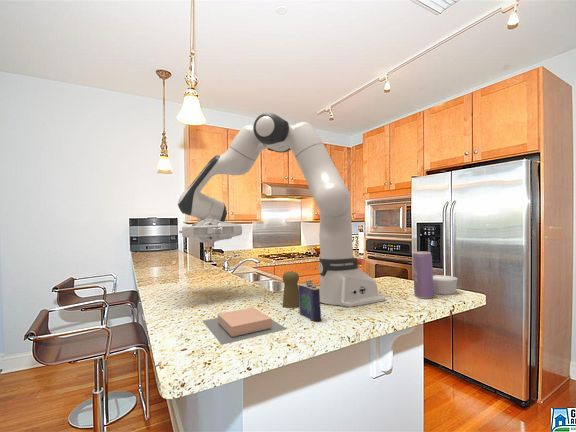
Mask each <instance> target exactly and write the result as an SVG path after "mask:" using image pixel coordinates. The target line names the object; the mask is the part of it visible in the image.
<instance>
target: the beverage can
mask: <svg viewBox="0 0 576 432" xmlns="http://www.w3.org/2000/svg"><path fill="white" fill-rule="evenodd" d="M432 257H433V256H432V253H431V252H430V251H413V252H412V256H411V258H412V276H413V293H414V296H415V298H417V299H424V300H431V299H433V298H434V296H435V294H434V285H433V275H434V274H433V273H434V272H433V269H434V268H433V258H432Z"/></svg>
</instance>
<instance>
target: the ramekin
mask: <svg viewBox="0 0 576 432" xmlns="http://www.w3.org/2000/svg"><path fill="white" fill-rule="evenodd" d="M458 280H459V279H458V277H455V276H452V275H440V274H439V275H437V274H435V275H434V274H433V285H434V295H443V296H447V295H448V296H449V295H451V296H452V295H454V294H455V293H456V292H457V284H458V282H459V281H458Z"/></svg>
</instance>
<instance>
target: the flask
mask: <svg viewBox="0 0 576 432" xmlns="http://www.w3.org/2000/svg"><path fill="white" fill-rule="evenodd" d="M312 281H314V279H312V278H311V279H307V280H305V283H299V284H298V289H299V307H298V309H299V310H298V311H299V315H300V316H302V317H305V318H306V319H307V318H308V319H309V320H310V321H312V322H313V323H320V322H322V313H321V302H320V294H319V292H320V291H319V288H320V287H318V286H316V285H314V282H312Z"/></svg>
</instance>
